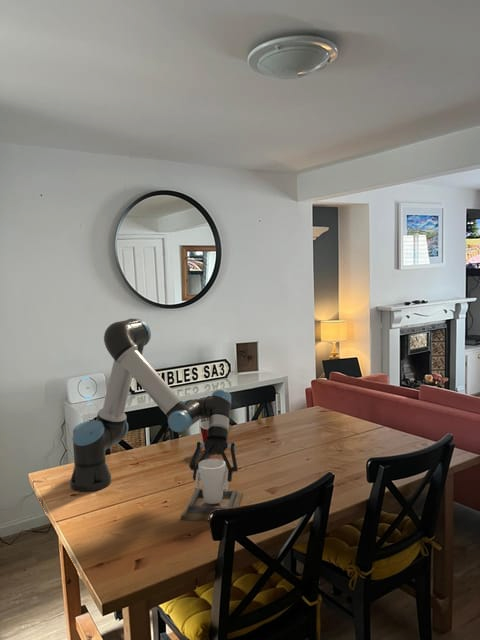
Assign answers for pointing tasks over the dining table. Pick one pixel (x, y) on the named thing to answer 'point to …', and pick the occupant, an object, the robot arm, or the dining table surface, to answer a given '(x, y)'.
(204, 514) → the holder board
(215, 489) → the foam cup
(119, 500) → the dining table surface
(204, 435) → the plastic cup
